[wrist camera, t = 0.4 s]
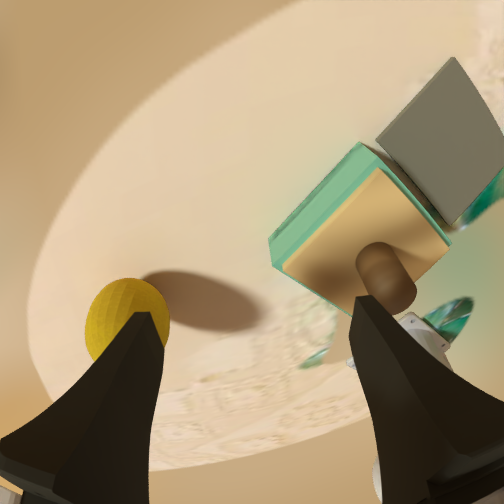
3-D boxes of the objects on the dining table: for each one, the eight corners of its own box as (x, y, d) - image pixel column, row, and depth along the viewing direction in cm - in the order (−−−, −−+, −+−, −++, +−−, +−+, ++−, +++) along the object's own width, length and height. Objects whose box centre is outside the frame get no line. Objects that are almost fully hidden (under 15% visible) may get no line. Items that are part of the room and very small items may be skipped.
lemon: (179, 262, 22) (157, 354, 15) (175, 318, 25) (160, 405, 18) (104, 250, 21) (59, 333, 14) (110, 307, 24) (79, 388, 17)
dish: (431, 220, 20) (452, 243, 18) (351, 296, 24) (362, 323, 21) (358, 141, 17) (377, 156, 15) (268, 238, 21) (271, 265, 18)
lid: (445, 244, 18) (476, 282, 15) (363, 318, 21) (379, 362, 18) (377, 167, 15) (412, 199, 12) (281, 264, 18) (290, 314, 15)
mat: (509, 152, 17) (513, 154, 17) (446, 223, 21) (449, 226, 20) (451, 56, 14) (454, 57, 14) (375, 139, 17) (377, 141, 17)
